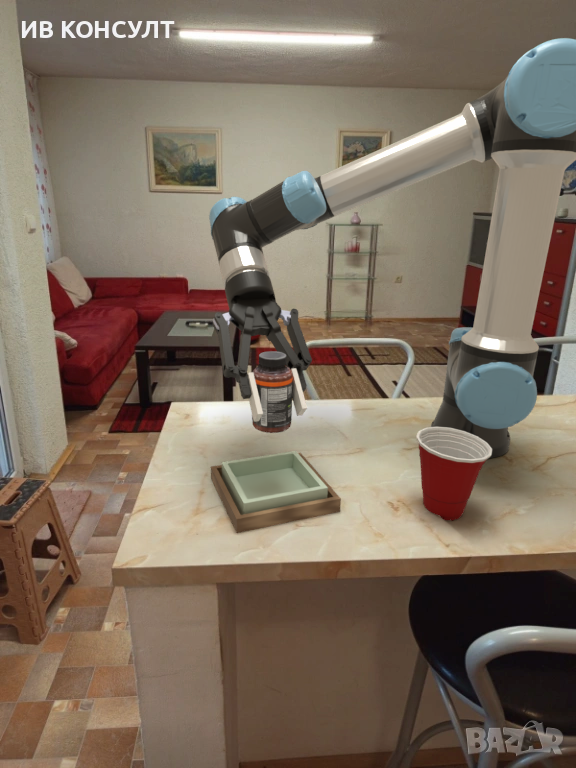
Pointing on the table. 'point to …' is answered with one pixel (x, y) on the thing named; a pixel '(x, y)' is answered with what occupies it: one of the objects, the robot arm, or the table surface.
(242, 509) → the grey-green crate
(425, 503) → the plastic cup
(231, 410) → the table surface
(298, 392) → the robot arm
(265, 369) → the supplement bottle
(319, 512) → the walnut crate
